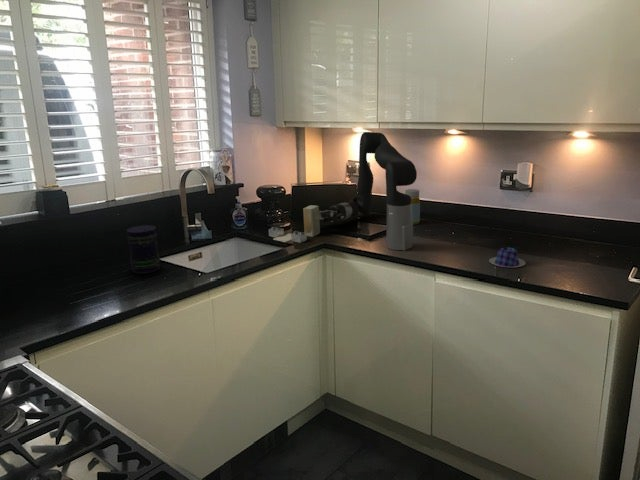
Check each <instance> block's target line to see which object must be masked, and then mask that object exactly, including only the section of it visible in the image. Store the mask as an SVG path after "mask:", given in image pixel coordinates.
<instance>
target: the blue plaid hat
mask: <svg viewBox="0 0 640 480" xmlns="http://www.w3.org/2000/svg"><path fill="white" fill-rule="evenodd" d="M488 262H489V263H491V264H492V265H494V266H498V267H500V268H501V267H502V268H519V267H523V266H525V265H526V261H525V260H523V259H521V258H519V254H518V250H517V249H516V248H513V247H508V246H507V247H501V248H499V249H498V251H497V255H496V256H494V257H491V258H489V260H488Z"/></svg>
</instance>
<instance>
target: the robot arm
mask: <svg viewBox="0 0 640 480" xmlns="http://www.w3.org/2000/svg"><path fill="white" fill-rule="evenodd" d="M358 153H359V155H358V179H357V185H356V193H357V194H358V195H356V196H353V197H352V198H351V199H349V201H346V202H341V203H337V204H333V205H330V207H329V208H328V209H326V210H323V211H322V210H321V209H319V221H320V220H323V223H324V224H327V223H338V222H341V221H344V220H347V219H348V218H352V217H354V216H356V215H358V213H360V214H362V215H363V216H368V215H370V213H372V211H373V208H374V199H373V192H372V191H373V184H374V175H373V171H372V169H371V168H370V166H369V162H368V159H367V156H368V154H374V159H375V162H376V163H377V164H378V166H379V167H380V168H382V169H383V170H385V190H386V191H385V194H386V195H385V196H386V249H388V250H392V251H393V250H394V251H406V250H409V249H411V248H413V247H414V243H413V242H414V241H413V240H414V225H413V223H411V197H410V196H409V195H407V194H405V193H403V192H400V191H399V190H398V187H403V186H411V185H413V184H414V183H415V182H416V180H417V176H418V173H417V172H418V171H417V169H416V166H415V164H414V162H412V161H411V160H410V159H408V158H406V157H405V156H403V155H402V154H401V153H400V152H399V151H398V150H397V148H395V147H394V146H393V145H392V144H391V143H390V142H389V140H388V138H387V136H386V135H385V134H384V133H382V132H375V131H373V132H372V131H364V132H363V133H362V134H361V136H360V139H359V152H358Z"/></svg>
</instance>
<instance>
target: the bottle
mask: <svg viewBox="0 0 640 480" xmlns="http://www.w3.org/2000/svg"><path fill="white" fill-rule="evenodd" d="M404 194H407V195H409V196H410V197H411V223H413V226H416V225H418V224H420V221H421V219H420V218H421V200H420V189H415V188H413V189H412V188H409V189H405V190H404Z"/></svg>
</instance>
